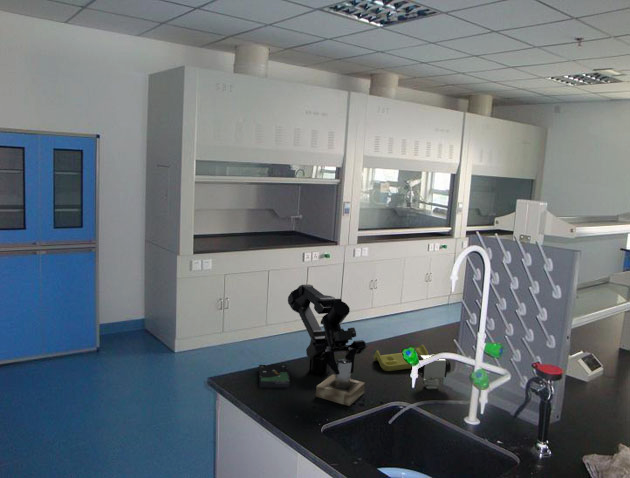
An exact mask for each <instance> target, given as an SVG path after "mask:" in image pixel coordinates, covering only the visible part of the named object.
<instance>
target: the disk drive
mask: <svg viewBox="0 0 630 478" xmlns="http://www.w3.org/2000/svg"><path fill="white" fill-rule="evenodd" d="M258 378H259V379H258V380H259V388H270V389H273V388H276V387H277V388H279V389H281V387H282V388H284V387H285V388H287V387H288V388H290V387H291V379H290V374H289V369H288V365H287V364H270V365H266V364H259V365H258ZM272 387H273V388H272Z"/></svg>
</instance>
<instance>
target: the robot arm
mask: <svg viewBox="0 0 630 478" xmlns="http://www.w3.org/2000/svg"><path fill="white" fill-rule="evenodd" d="M287 303H288V305H289V307H290V308H291V310H292V311H294V312H296V313H297V314H298V315H299V317H300V318H301V321H302V323H303V325H304V327H305V329H306V331H307V333H308V336H309V337H310V341H309V345H308V346H307V347H306V349H305V352H306V356H307V357H308V358H309V364H308V365H309V368H308V370H307V371H306V373H307V374H310V375H313V376H316V377H317V376H318V377H321V378H323V377H325V376H326V375H328V374H329V373H331V370H332V372H334V375H335V374H336V375H338V374H339V372H338V368H337V365H336V361H337V360H336V359H335V353H339V352H345V353H346V355H345V356H344V357H345V358H344V359H346V360H350V361H351V362H352V364H351V374H353V373H354V369H355V356H356V355H360V354H362V353H363V352H364V351H365V350H366V348H367V347H368V346H367V344H366V341H364V340H363V339H361V340H353V338H356V337H357V331H356V328H355V327H348V328H347V330H345V329H344V328H342V327H341V326H342V325H341V324H342V323H343V322H344V320H345V319H346V318H347V316H348V315H349V314H350V312H351V311H350V310H351V309H350V306H349V305H348V304H347V303H346V302H344V301H343V300H342V298H335V296H332V295H326V294H325V295H324V294H323V293H322V292H320V291H319V290H318V289H316V288H315V287H314V286H313V285H312V284H300V285H299V286H298V287H297V288H296V289H294V290H293V291H291V292H290V294H289V295H288V297H287ZM311 304H312V305H313V309H314V311H315V312H316V313H317V314H318V315H323V316H322V318H321V320H320V324H319V322H318V320H317V319H316V316H315V314H314V313H313V310H312V309H311V307H310V306H311ZM320 325H322V327H323V329H322V328H321V326H320ZM349 341H353V342H351V343H350V344H348V343H349Z"/></svg>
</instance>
